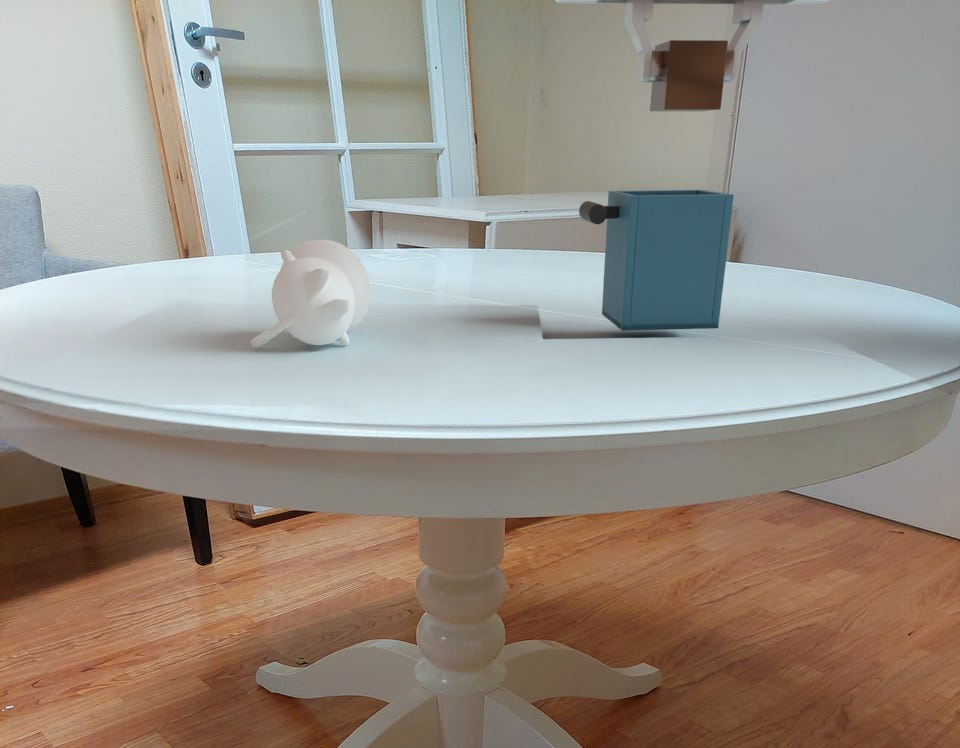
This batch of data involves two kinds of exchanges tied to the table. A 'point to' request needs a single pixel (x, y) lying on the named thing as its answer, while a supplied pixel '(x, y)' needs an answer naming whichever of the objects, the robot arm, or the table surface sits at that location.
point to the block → (690, 76)
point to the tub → (663, 257)
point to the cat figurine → (319, 294)
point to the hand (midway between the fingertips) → (687, 82)
